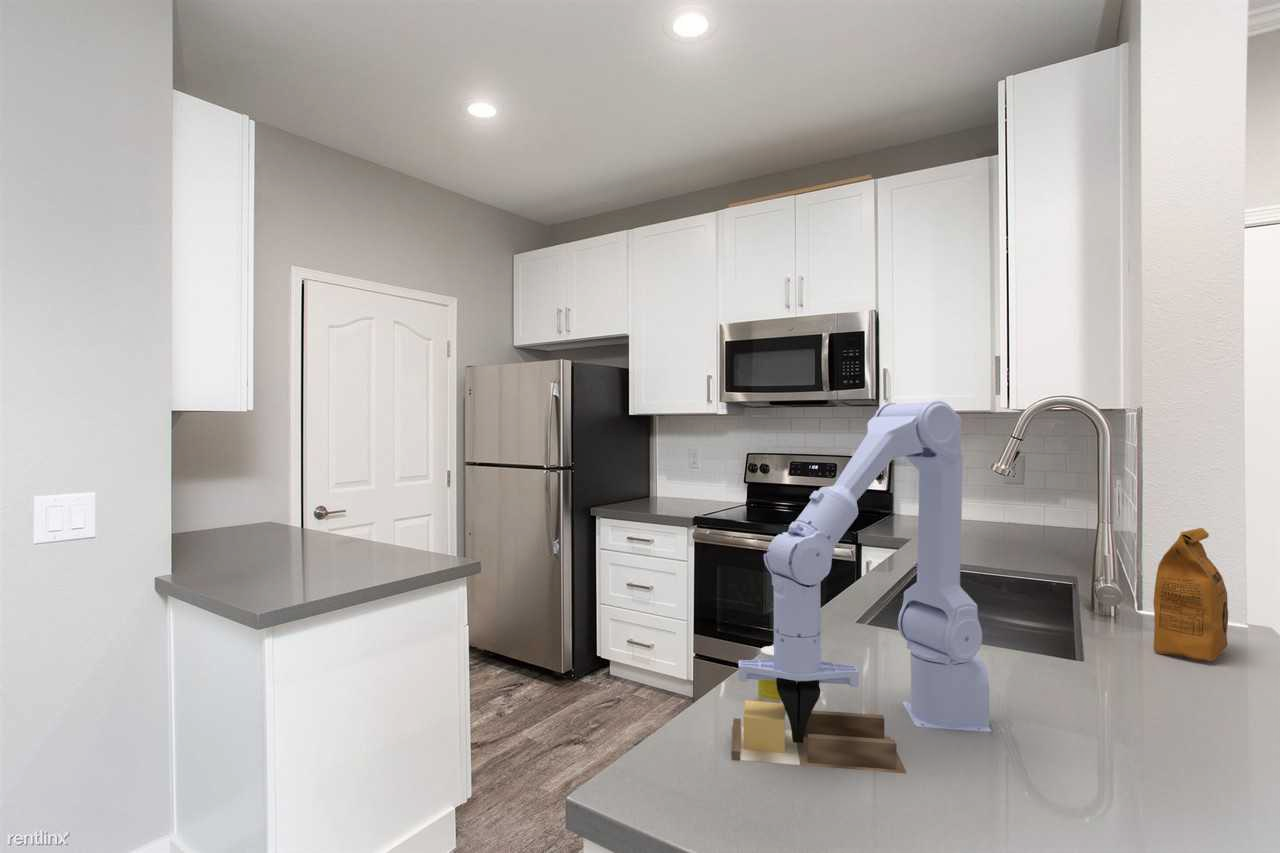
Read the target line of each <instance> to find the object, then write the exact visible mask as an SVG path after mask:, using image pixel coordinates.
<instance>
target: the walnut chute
mask: <svg viewBox="0 0 1280 853" xmlns="http://www.w3.org/2000/svg"><path fill="white" fill-rule="evenodd" d="M732 723H733V724H732V736H731V737H732V740H731V742H732V743H731V760H732V761H743V762H755V763H758V762H759V763H770V764H771V763H772V764H783V765H794V766H795V765H796V766H808V767H818V768H819V767H820V768H831V769H832V768H833V769H845V770H859V771H868V772H869V771H870V772H882V773H898V774H908V773H907V770H906V768H905V765H904V763H903V762H902V759H901V757H900V756H899V753H898V751H897V749H898V748H897V742H896V740H895V739H892V737H891V736H887V735H885V716H884V714H876V713H875V714H874V713H862V712H861V713H858V712H843V711H829V710H828V711H827V710H814V709H813V710H812V712H811V714H810V717H809V719H808V722H807V726H806V729H805V734H804V740H803V743H794V742H793V739H792V731H791V729H789V728H787V729H786V728H785V753H779V752H769V751H759V750H749V749H744V725H742V719H741V718H736V717H733V720H732Z"/></svg>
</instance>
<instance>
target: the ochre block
mask: <svg viewBox="0 0 1280 853" xmlns="http://www.w3.org/2000/svg"><path fill="white" fill-rule="evenodd" d="M743 711H744V712H743V726H744V749H749V750H759V751H769V752H779V753H785V729H786V724H785V723H786V718H785V717H786V712H785V707H784V705H783V703H772V702H760V701H758V700H745V703H744V710H743Z"/></svg>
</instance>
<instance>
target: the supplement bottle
mask: <svg viewBox="0 0 1280 853" xmlns="http://www.w3.org/2000/svg"><path fill="white" fill-rule="evenodd" d="M759 656H760V660H761V659H773V658H774V645H769V646H763V647H762V648H760V655H759ZM757 701H760V702H772V703H783V702H782V700H781V698H780V696H779V693H778V691H777V685H776V681H775V680H757ZM785 713H787V712H786V709H785Z"/></svg>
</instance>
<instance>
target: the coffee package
mask: <svg viewBox="0 0 1280 853" xmlns="http://www.w3.org/2000/svg"><path fill="white" fill-rule="evenodd" d="M1209 537H1210V535H1209V533H1208V532H1207V531H1206V530H1205V529H1204V528H1202V527H1198V528H1195V529H1189V530H1186V531H1180V535H1179V536H1178V538H1177V539H1176V540H1175V542H1174V543H1173V544H1172V545H1171V546H1170V548H1169V549H1168V550H1167V551H1166V552H1165V554H1163V556H1162V558H1161V560H1160V561H1159V564H1158V565H1157V569H1156V577H1155V585H1154V593H1153V594H1154V595H1153V603H1152V604H1153V609H1154V634H1153V651H1154V652H1156V653H1158V654H1160V655H1169V656H1176V657H1182V658H1186V659H1187V658H1188V659H1192V660H1197V661H1208V662H1213V661H1215V659H1217V658H1218V657H1219V656H1221V655H1222V654H1223V653H1224V652H1225V650H1226V648H1227V647H1228V625H1229V609H1228V606H1229V605H1228V603H1229V602H1228V591H1227V588H1226V584H1225V581H1224V579H1223V576H1222V574H1221V572H1220V571H1219V569H1218V568H1217V567H1216V565H1215V564H1214V563H1213V562H1212V561H1211V559H1210V558H1209V557H1208V556H1207V552H1206V550H1205V548H1204V546H1203V544H1202V542H1201V541H1203V540H1205V539H1208V538H1209Z"/></svg>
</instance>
